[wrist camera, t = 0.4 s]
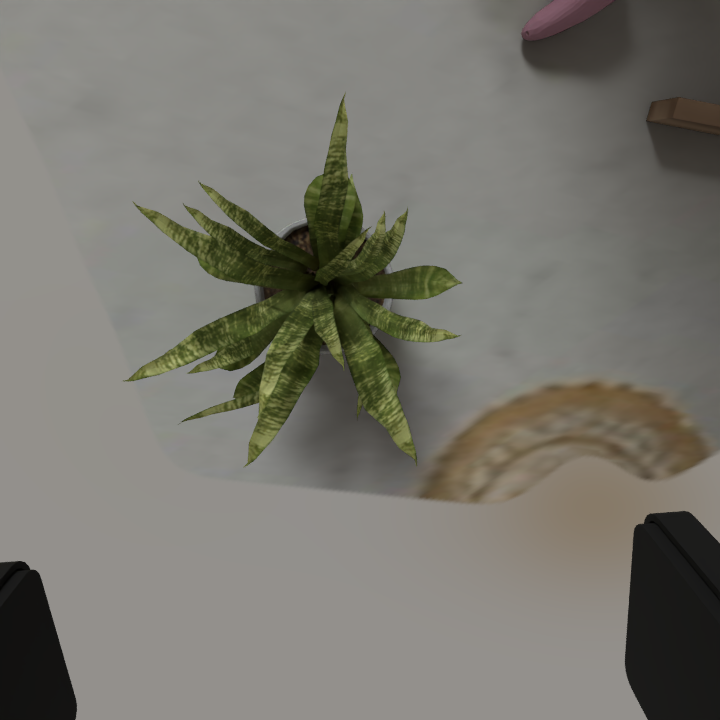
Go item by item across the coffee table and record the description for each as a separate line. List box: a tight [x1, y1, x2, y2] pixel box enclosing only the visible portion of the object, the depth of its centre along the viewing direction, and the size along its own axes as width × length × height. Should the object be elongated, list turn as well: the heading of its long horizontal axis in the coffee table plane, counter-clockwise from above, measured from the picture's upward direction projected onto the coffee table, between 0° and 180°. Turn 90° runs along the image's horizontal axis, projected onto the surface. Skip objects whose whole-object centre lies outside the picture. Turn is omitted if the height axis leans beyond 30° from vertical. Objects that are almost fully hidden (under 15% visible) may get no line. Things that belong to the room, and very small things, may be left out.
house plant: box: [125, 93, 462, 468], centre depth 29 cm, size 14×14×16 cm
